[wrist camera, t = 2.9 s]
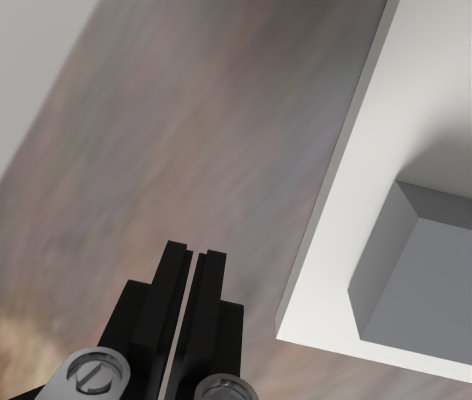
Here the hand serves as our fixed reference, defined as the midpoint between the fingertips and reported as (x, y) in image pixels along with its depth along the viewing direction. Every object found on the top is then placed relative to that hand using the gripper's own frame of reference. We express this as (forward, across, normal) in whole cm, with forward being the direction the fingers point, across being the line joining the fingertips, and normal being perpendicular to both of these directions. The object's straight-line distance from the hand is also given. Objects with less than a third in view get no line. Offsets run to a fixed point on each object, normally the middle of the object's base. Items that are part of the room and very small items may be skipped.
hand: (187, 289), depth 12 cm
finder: (+5, -10, -1) cm, 11 cm away
